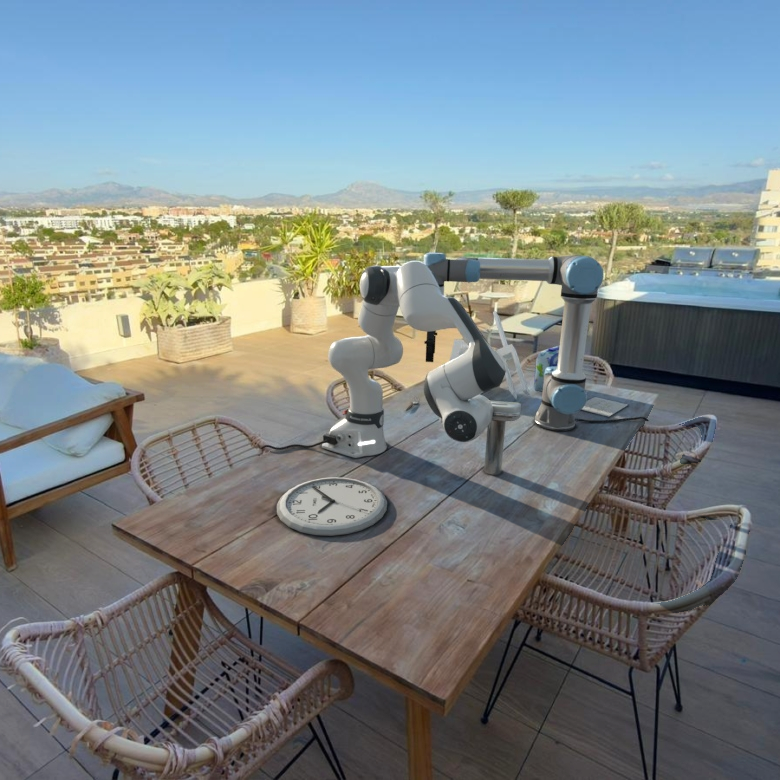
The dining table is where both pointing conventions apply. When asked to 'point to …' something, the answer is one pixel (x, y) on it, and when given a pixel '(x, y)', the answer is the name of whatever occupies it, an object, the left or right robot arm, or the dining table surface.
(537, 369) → the lunch box
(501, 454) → the jar
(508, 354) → the white plastic object
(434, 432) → the dining table surface
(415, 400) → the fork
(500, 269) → the right robot arm
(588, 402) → the invitation card
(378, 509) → the wall clock
